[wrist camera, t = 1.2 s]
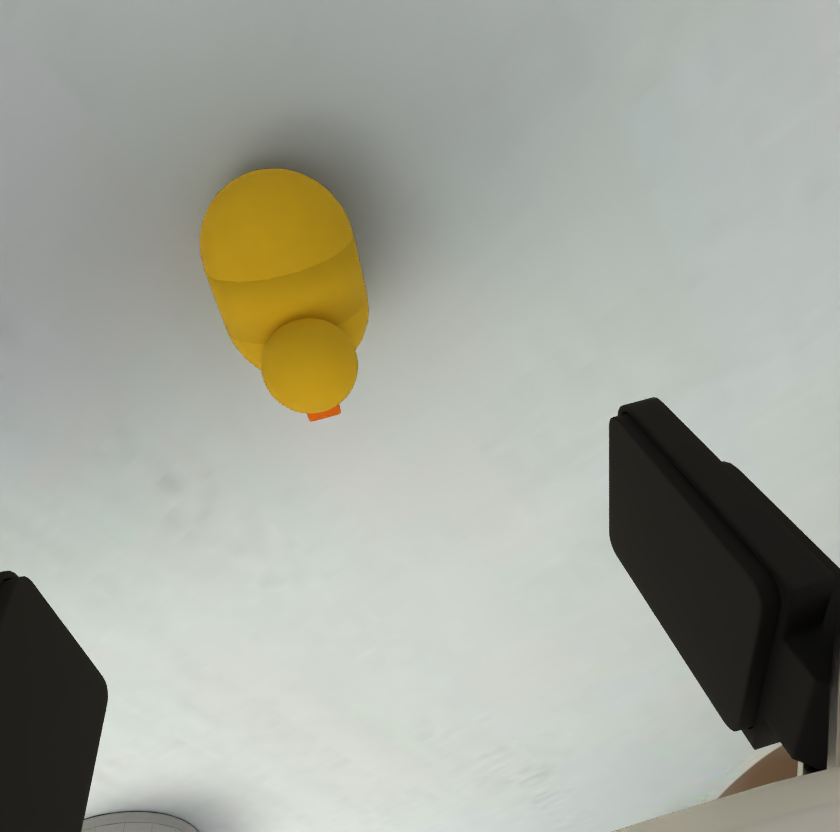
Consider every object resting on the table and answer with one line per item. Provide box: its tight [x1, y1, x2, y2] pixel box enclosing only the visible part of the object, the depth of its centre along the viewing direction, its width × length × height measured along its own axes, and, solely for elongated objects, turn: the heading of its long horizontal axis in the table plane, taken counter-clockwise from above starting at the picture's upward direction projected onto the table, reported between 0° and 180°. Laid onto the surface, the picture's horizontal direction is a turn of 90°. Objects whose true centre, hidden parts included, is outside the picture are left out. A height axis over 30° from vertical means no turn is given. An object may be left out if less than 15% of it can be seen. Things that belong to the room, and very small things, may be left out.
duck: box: [200, 169, 369, 421], centre depth 20 cm, size 7×5×6 cm
